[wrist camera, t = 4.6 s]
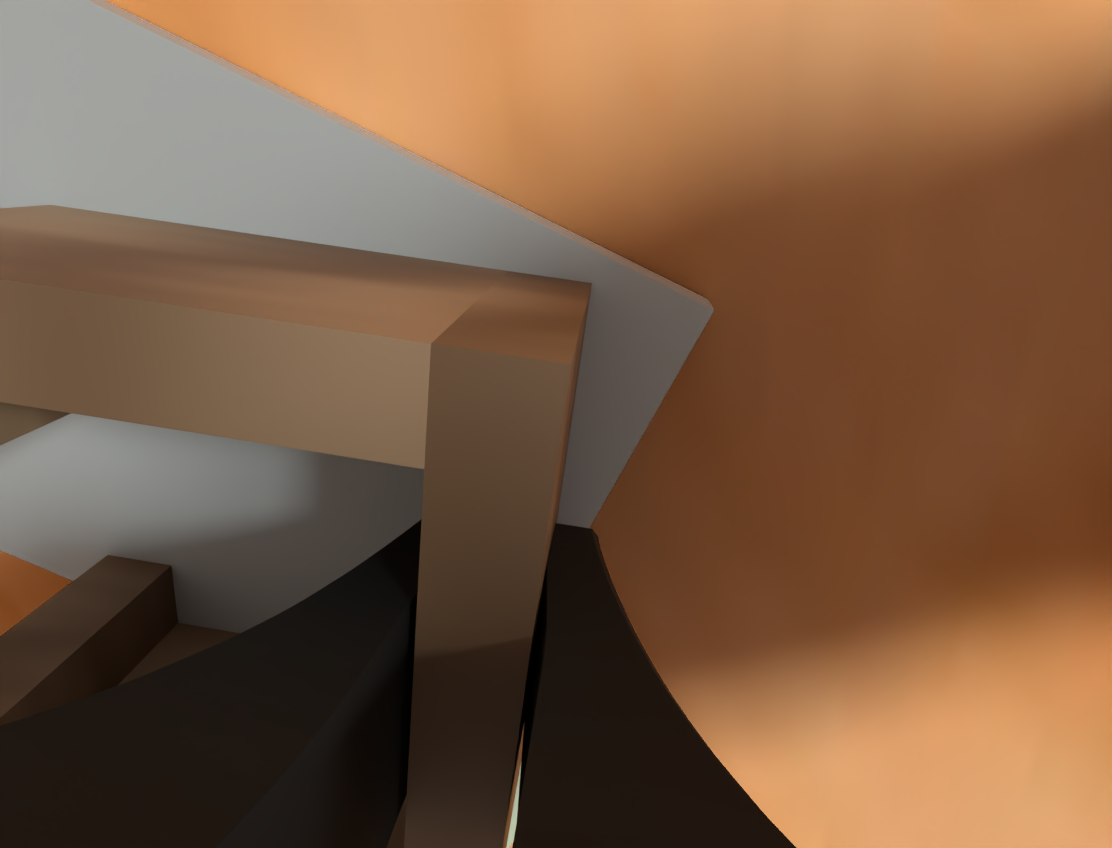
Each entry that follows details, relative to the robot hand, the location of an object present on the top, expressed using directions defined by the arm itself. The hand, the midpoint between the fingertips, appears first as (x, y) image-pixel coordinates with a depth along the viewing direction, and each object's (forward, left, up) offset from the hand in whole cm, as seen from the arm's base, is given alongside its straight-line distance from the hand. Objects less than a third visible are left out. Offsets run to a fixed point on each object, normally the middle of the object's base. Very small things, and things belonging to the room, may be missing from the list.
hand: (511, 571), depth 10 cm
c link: (+3, +1, -1) cm, 4 cm away
